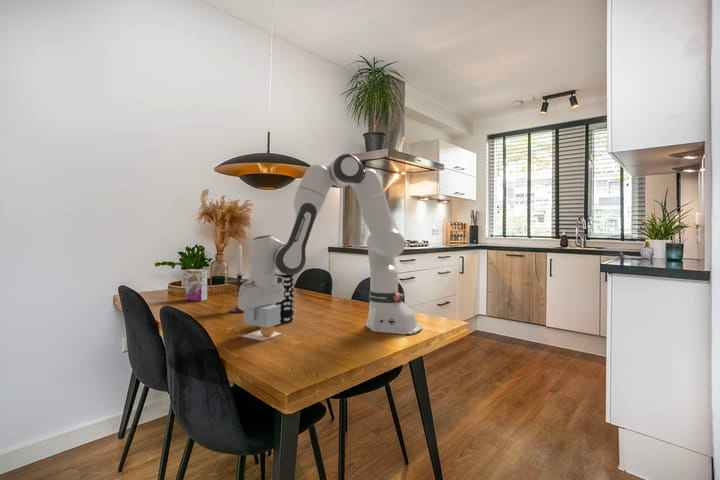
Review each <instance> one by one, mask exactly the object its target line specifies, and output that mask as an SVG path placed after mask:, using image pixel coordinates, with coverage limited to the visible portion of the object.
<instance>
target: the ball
mask: <svg viewBox="0 0 720 480" xmlns="http://www.w3.org/2000/svg"><path fill="white" fill-rule="evenodd" d="M275 329H276V328H275V325H274V326H271V327H268V328H264V327H260V328H259V330H260V332H261V334H262V335H263V336H266V337H268V336H271V335H272V334H273V333H274V332H275Z"/></svg>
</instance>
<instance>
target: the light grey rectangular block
mask: <svg viewBox="0 0 720 480" xmlns="http://www.w3.org/2000/svg"><path fill="white" fill-rule="evenodd" d="M280 307H281V306H278V305H272V304H269V305H265V306H261V307H257V308H254V311H253V312H254V315H256V320H254V321H251V320H250V315H249V314H248V312H247V310H244V313H243V324H247V325H252V326H255V327H260V328H261V327H264V328H268V327H271V326H274V327H275V326H276V325H280V324H281V323H280Z"/></svg>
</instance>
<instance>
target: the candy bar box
mask: <svg viewBox="0 0 720 480" xmlns="http://www.w3.org/2000/svg"><path fill="white" fill-rule="evenodd" d="M184 300H185V301H191V300H195V301H194V302H204V301H203V300H205V301H208V270H206V269H193V268H191V269H185V270H184Z"/></svg>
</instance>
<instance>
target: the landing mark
mask: <svg viewBox="0 0 720 480" xmlns="http://www.w3.org/2000/svg"><path fill="white" fill-rule="evenodd" d="M282 334H283V333H282V332H278V331H274V333H273V334H272V335H271V336H268V337H266V336H263V335H262V334H261V332H260V329H259V330H255V331H252V332H249V333H247V334H244V335H241V337H242V338H247V339H253V340H257V341H262V342H263V341H265V340H268V339H271V338H274V337H277V336H279V335H282Z"/></svg>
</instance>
